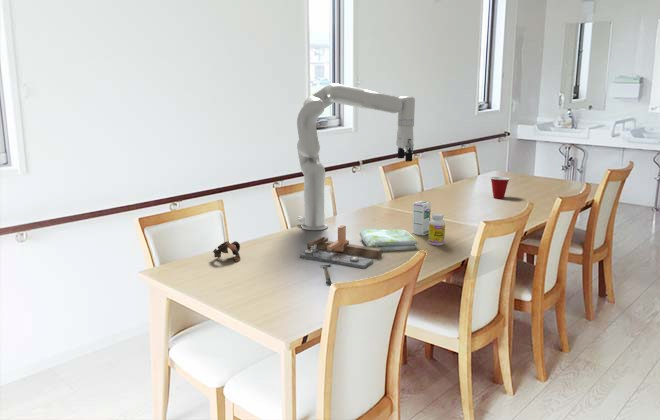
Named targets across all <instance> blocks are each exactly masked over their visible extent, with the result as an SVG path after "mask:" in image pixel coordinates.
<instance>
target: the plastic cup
mask: <svg viewBox="0 0 660 420" xmlns="http://www.w3.org/2000/svg"><path fill="white" fill-rule="evenodd" d="M490 181H491V188H492V196H493V197H492V198H493V199H495V198H496V200H503V199H505V195H506V191H507V189H508V188H507V187H508V184H509V181H510V177H509V178H508V177H503V176H490Z"/></svg>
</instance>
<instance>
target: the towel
mask: <svg viewBox="0 0 660 420" xmlns="http://www.w3.org/2000/svg"><path fill="white" fill-rule="evenodd" d="M359 236H360V238H361V240H362V241H363V243H364V244H365V247H372V248H379V249H382V252H384V251H385V252H387V251H388V252H389V251H405V250H407V251H408V250H416V247H417V245H418V241H417V239H416V238H415V237H414V236H413V235H412V234H411V233H410V232H409V231H407V230H405V229H402V228H401V229H399V228H398V229H387V228H386V229H383V228H382V229H381V228H380V229H379V228H368V229H367V228H366V229H362V230H361V231H360V233H359Z"/></svg>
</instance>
